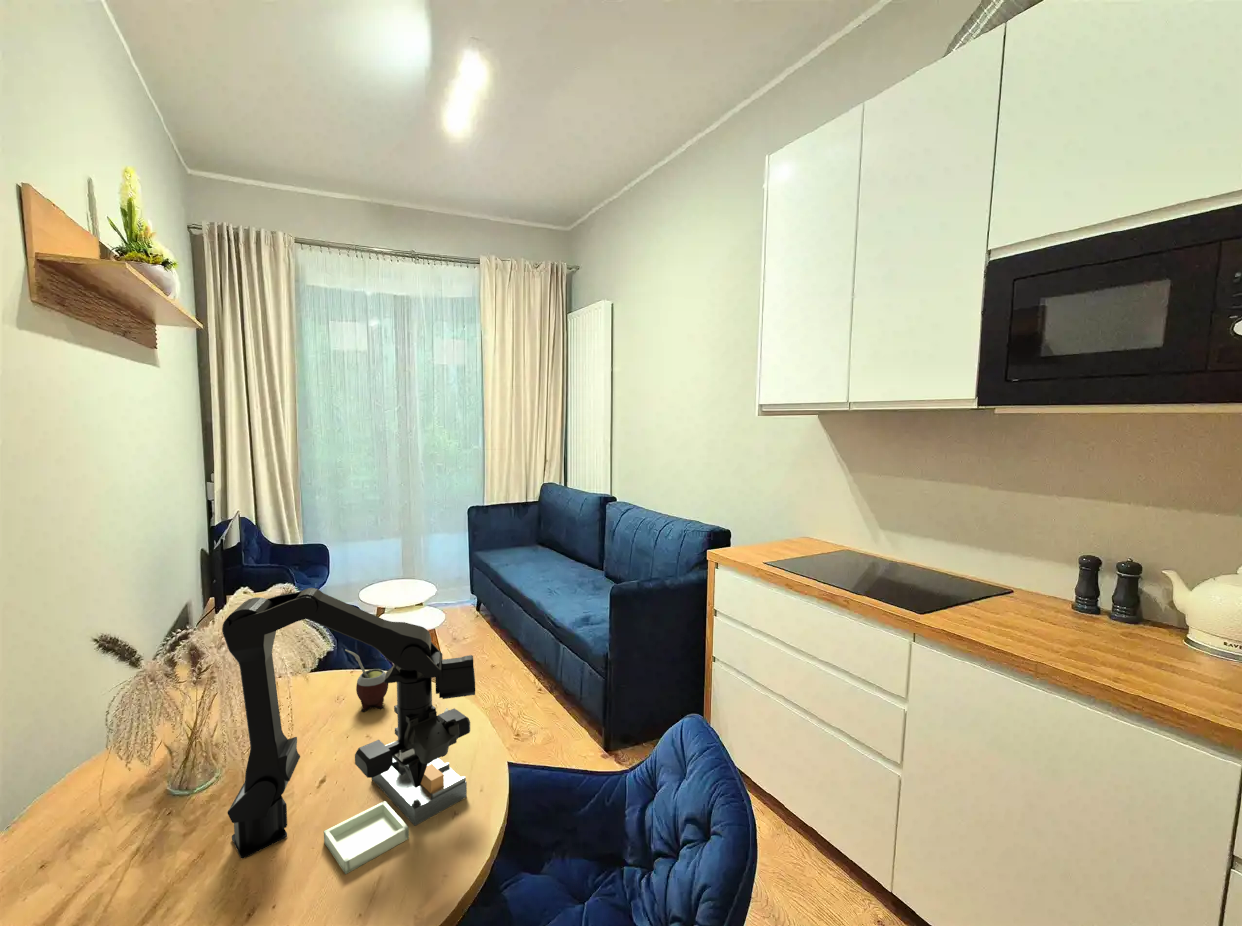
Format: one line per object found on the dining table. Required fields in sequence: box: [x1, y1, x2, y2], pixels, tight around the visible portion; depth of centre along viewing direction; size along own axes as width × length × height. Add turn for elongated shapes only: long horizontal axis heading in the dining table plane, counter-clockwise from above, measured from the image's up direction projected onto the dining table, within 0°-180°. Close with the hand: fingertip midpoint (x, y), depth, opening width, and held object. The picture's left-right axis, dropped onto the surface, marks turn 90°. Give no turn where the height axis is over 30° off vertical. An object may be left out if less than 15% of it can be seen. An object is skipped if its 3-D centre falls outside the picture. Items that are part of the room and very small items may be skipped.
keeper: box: [421, 764, 444, 793], centre depth 99 cm, size 2×4×2 cm, turn 47°
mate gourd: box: [344, 649, 389, 713], centre depth 131 cm, size 8×8×15 cm
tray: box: [323, 800, 410, 875], centre depth 90 cm, size 10×9×2 cm
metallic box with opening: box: [371, 757, 468, 826], centre depth 103 cm, size 10×18×4 cm, turn 47°
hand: (416, 786), depth 97 cm, fingers closed
